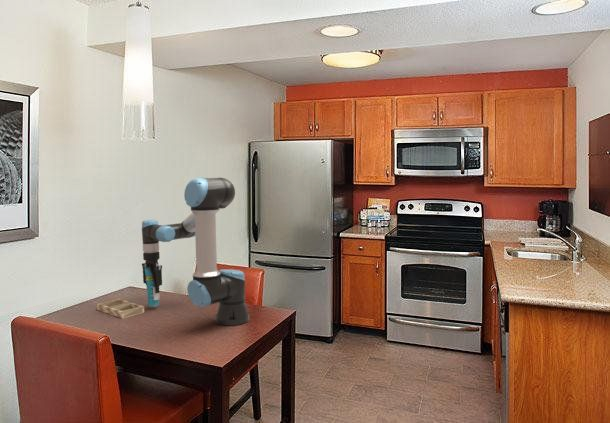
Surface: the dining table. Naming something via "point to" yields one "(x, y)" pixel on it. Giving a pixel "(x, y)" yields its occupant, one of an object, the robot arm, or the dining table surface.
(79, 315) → the dining table surface
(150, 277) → the tube
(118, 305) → the wooden compartment tray
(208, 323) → the dining table surface
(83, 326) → the dining table surface
